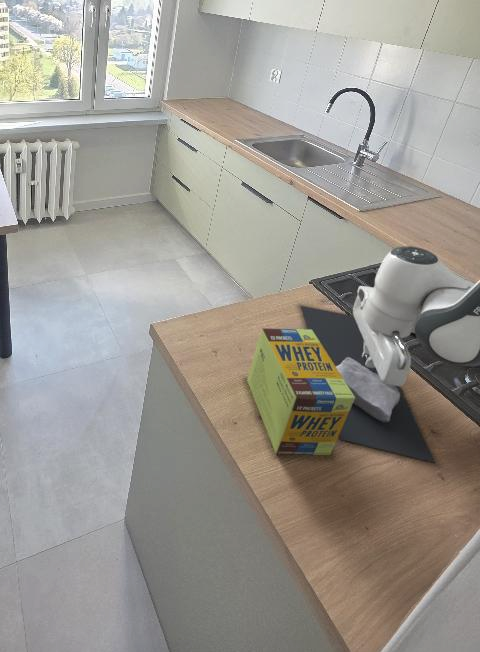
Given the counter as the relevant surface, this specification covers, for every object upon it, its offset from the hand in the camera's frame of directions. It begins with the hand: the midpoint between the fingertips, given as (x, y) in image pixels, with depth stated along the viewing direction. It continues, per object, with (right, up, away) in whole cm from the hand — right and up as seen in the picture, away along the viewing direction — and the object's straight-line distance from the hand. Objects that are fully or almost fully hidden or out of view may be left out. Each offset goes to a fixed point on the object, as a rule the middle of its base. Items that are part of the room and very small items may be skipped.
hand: (367, 362), depth 92 cm
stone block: (-4, -4, -4) cm, 7 cm away
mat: (-2, -2, +1) cm, 3 cm away
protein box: (-23, -6, -9) cm, 25 cm away
